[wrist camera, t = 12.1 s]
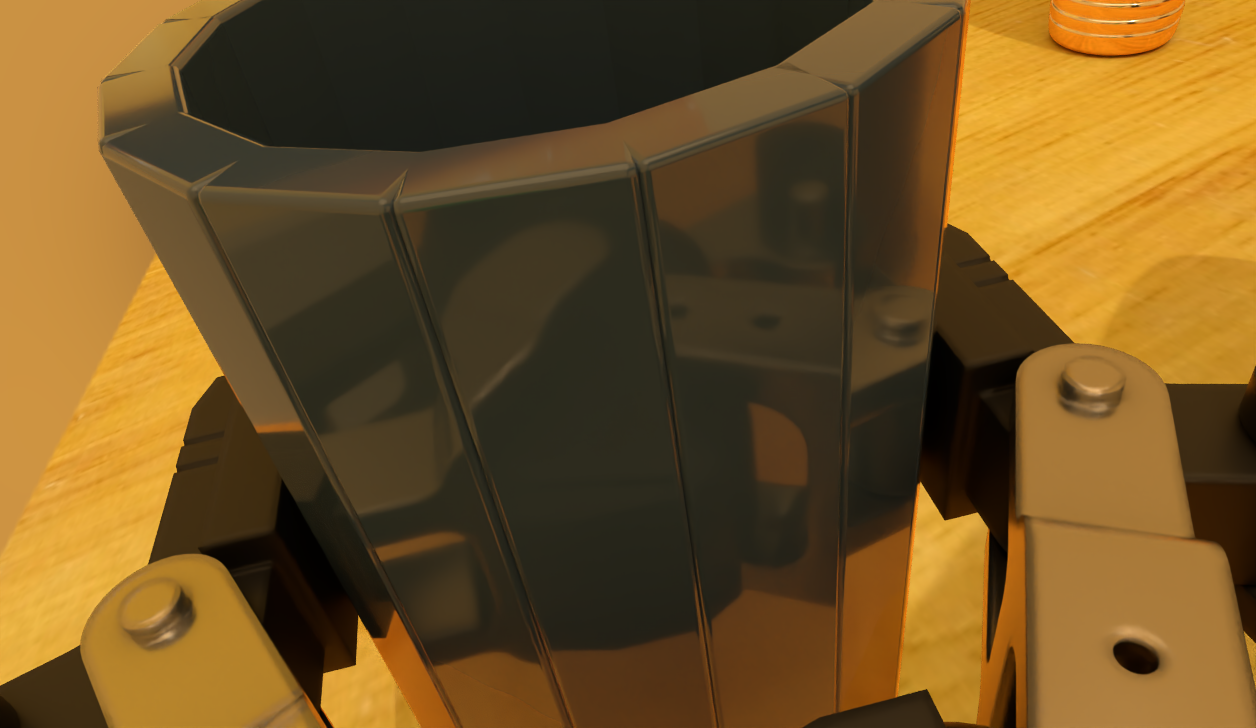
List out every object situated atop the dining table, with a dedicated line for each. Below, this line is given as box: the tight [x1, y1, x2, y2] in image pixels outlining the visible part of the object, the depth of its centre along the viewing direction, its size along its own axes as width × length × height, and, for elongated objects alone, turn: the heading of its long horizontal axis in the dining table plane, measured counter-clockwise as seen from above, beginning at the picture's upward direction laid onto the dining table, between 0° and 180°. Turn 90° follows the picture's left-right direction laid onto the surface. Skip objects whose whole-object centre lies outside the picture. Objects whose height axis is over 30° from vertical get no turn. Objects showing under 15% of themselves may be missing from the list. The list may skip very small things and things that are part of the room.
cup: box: [97, 0, 971, 728], centre depth 10 cm, size 6×6×11 cm
